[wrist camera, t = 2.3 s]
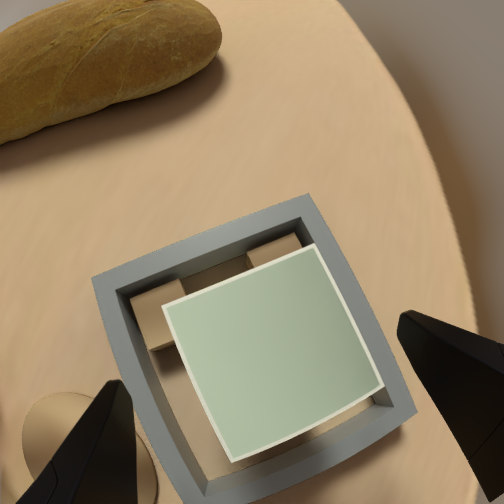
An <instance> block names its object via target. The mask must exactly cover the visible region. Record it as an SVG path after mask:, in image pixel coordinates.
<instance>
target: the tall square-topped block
mask: <svg viewBox="0 0 504 504" xmlns="http://www.w3.org/2000/svg"><path fill="white" fill-rule="evenodd" d="M161 307H162V309H163V312H164V315H165V318H166V320H167V323H168V325H169V328H170V331H171V333H172V336H173V338H174V341H175V343H176V346H177V348H178V351H179V353H180V356H181V358H182V361H183V363H184V365H185V368H186V370H187V372H188V375H189V377H190V379H191V382H192V384H193V386H194V388H195V390H196V393H197V395H198V397H199V399H200V401H201V404H202V406H203V408H204V410H205V412H206V414H207V416H208V418H209V420H210V423H211V425H212V427H213V429H214V431H215V433H216V435H217V437H218V439H219V441H220V442H221V444H222V446H223V448H224V450H225V452H226V454H227V456H228V458H229V460H230V461H231V463H233V462H236V461H238V460H241V459H244V458H246V457H249V456H251V455H254V454H256V453H259V452H261V451H264V450H266V449H268V448H271V447H273V446H275V445H278V444H280V443H282V442H284V441H287V440H289V439H291V438H293V437H295V436H297V435H299V434H301V433H304V432H306V431H308V430H310V429H312V428H314V427H316V426H317V425H319V424H321V423H323V422H325V421H327V420H329V419H331V418H333V417H334V416H336V415H338V414H340V413H342V412H343V411H345V410H347V409H349V408H350V407H352V406H354V405H355V404H357V403H359V402H360V401H362V400H364V399H365V398H367V397H369V396H370V395H372V394H373V393H375V392H377V391H378V390H380V389H381V388H383V387H384V386H385V385H384V383H383V381H382V379H381V376H380V374H379V372H378V370H377V367H376V365H375V363H374V361H373V359H372V357H371V354H370V352H369V350H368V348H367V346H366V344H365V342H364V339H363V337H362V335H361V333H360V331H359V329H358V327H357V325H356V323H355V321H354V319H353V317H352V315H351V313H350V311H349V308H348V306H347V304H346V302H345V300H344V298H343V296H342V294H341V293H340V291H339V289H338V287H337V285H336V283H335V281H334V279H333V277H332V275H331V273H330V271H329V269H328V267H327V265H326V263H325V262H324V260H323V258H322V256H321V254H320V252H319V250H318V248H317V247H316V245H315V243H313V244H311V245H309V246H306V247H304V248H301V249H299V250H297V251H294V252H292V253H290V254H287V255H285V256H282V257H280V258H277V259H275V260H273V261H270V262H268V263H265V264H263V265H261V266H258V267H256V268H253V269H251V270H248V271H246V272H244V273H241V274H239V275H236V276H234V277H231V278H229V279H226V280H224V281H222V282H219V283H217V284H214V285H212V286H209V287H207V288H204V289H202V290H199V291H197V292H194V293H192V294H189V295H187V296H184V297H182V298H179V299H177V300H174V301H172V302H169V303H167V304H164V305H162V306H161Z"/></svg>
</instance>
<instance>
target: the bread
mask: <svg viewBox="0 0 504 504" xmlns="http://www.w3.org/2000/svg"><path fill="white" fill-rule="evenodd" d="M221 42H222V32H221V28H220V25H219V23H218V21H217V19H216V17H215V16H214V15H213V14H212V13H211V12H210V10H209V9H208V8H207V7H205V6H204V5H202V4H201V3H199V2H197V1H195V0H69V1H65V2H62V3H59V4H56V5H54V6H52V7H49V8H46V9H43V10H41V11H39V12H36V13H34V14H32V15H30V16H28V17H26V18H24V19H22V20H20V21H19V22H17V23H15V24H14V25H12V26H10V27H8V28H7V29H5V30H4V31H3V32H1V33H0V145H1V144H3V143H6V142H8V141H11V140H16V139H20V138H23V137H25V136H27V135H29V134H31V133H33V132H37V131H39V130H40V129H42V128H43V127H46V126H50V125H54V124H58V123H62V122H65V121H68V120H71V119H74V118H77V117H80V116H84V115H87V114H91V113H93V112H96V111H98V110H101V109H103V108H105V107H107V106H108V105H110V104H113V103H117V102H122V101H127V100H131V99H136V98H139V97H143V96H147V95H150V94H153V93H157V92H159V91H161V90H164V89H166V88H168V87H171V86H174V85H176V84H178V83H180V82H181V81H183V80H185V79H187V78H188V77H190V76H192V75H194V74H195V73H197V72H198V71H200V70H201V69H203V68H204V67H206V66H207V65H208V64H209V63H210V62H211V60H212V59H213V58H214V57H215V55H216V54H217V52H218V50H219V48H220V45H221Z"/></svg>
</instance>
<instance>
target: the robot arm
mask: <svg viewBox="0 0 504 504" xmlns="http://www.w3.org/2000/svg"><path fill="white" fill-rule="evenodd" d="M397 337H398V340H399V342H400V344H401V346H402V347H403V349H404V351H405V353H406V355H407V357H408V359H409V361H410V363H411V365H412V367H413V369H414V371H415V373H416V374H417V376H418V378H419V379H420V381H421V383H422V384H423V386H424V387H425V389H426V390H427V392H428V394H429V395H430V397H431V399H432V400H433V402H434V403H435V405H436V407H437V408H438V410H439V412H440V413H441V415H442V417H443V418H444V420H445V422H446V423H447V425H448V427H449V428H450V430H451V432H452V434H453V435H454V437H455V439H456V441H457V442H458V444H459V446H460V448H461V450H462V451H463V453H464V455H465V457H466V459H467V460H468V463H469V464H470V466H471V468H472V470H473V472H474V474H475V476H476V478H477V480H478V481H479V483H480V485H481V487H482V489H483V491H484V493H485V495H486V497H487V499H488V501H489V502H492V501H493V500H495V499H496V498H497V497H499V496H500V495H502V494H503V493H504V344H501V343H497V342H495V341H493V340H490V339H488V338H485V337H482V336H480V335H477V334H475V333H472V332H469V331H467V330H464V329H461V328H459V327H456V326H453V325H451V324H448V323H446V322H443V321H440V320H438V319H435V318H432V317H430V316H427V315H424V314H422V313H419V312H416V311H414V310H408V311H406V312H403V313H401V315H400V317H399V322H398V327H397ZM16 504H138V491H137V443H136V433H135V423H134V412H133V401H132V397H131V395H130V394H129V392H128V390H127V389H126V387H125V385H124V384H123V382H122V381H121V380H119V379H117V380H109V381H107V382H106V384H105V385H104V386H103V388H102V389H101V390H100V392H99V393H98V394H97V396H96V397H95V398H94V400H93V401H92V402H91V404H90V405H89V406H88V408H87V409H86V411H85V412H84V413H83V415H82V416H81V417H80V419H79V420H78V421H77V423H76V424H75V426H74V427H73V428H72V430H71V431H70V432H69V434H68V435H67V437H66V438H65V439H64V441H63V442H62V444H61V445H60V446H59V448H58V449H57V451H56V452H55V453H54V455H53V456H52V458H51V460H49V462H48V463H47V465H46V466H45V468H44V469H43V470H42V472H41V473H40V474H39V476H38V477H37V479H36V480H35V481H34V482H33V483H32V485H31V486H30V487H29V488H28V490H27V491H26V492H25V493H24V494H23V495H22V497H21V498H20V499H19V500H18V501H17V502H16Z"/></svg>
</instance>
